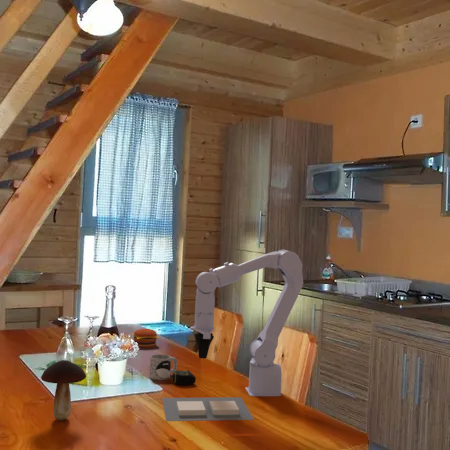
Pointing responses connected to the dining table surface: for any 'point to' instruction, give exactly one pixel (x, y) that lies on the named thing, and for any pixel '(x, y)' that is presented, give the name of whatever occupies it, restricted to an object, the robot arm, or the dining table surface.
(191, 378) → the tape measure
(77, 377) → the decorative mushroom
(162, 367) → the mug
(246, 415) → the mat
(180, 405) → the tile
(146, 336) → the hamburger
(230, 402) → the tile
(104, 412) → the dining table surface
